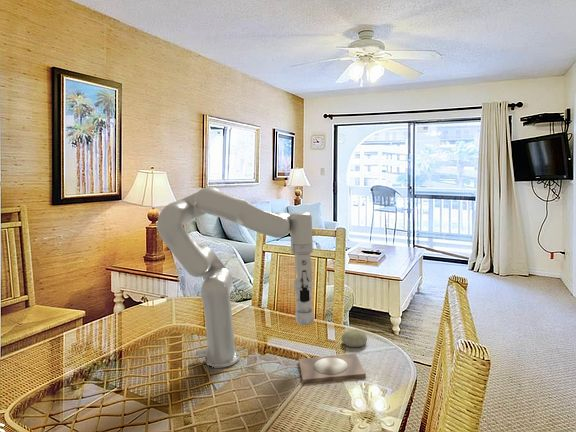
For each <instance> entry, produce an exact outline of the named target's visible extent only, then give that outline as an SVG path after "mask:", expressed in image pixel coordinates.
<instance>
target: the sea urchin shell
mask: <svg viewBox="0 0 576 432" xmlns="http://www.w3.org/2000/svg"><path fill="white" fill-rule="evenodd" d="M341 341H342V343H343V345H345V346H346V347H350V348H360V347H363V346H365V345H366V343H367V341H368V337H367V335H366V333H365V332H364V331H362V330H360V329H353V328H352V329H348V330H346V331H345V332H343V333H342V334H341Z"/></svg>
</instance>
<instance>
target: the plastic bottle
mask: <svg viewBox="0 0 576 432" xmlns="http://www.w3.org/2000/svg"><path fill="white" fill-rule="evenodd" d="M301 281H303V280H301ZM302 284H303V283H302ZM293 287H294V293H295V303H296V304H295V315H294V317H295V322H296V323H297V324H298V325H301V326H309V325H311V324H313V323H314V319H315V315H314V314H315V313H314V311H313V303H312V302H313V301H312V300H313V299H312V296H313V295H312V294H313V293H312V292H313V281H312V282H310V281H309V280H308V287H309V301H307V302H301V301H300V290H301V289H300V282H298V279H297V277H296V278H295V280H294V282H293Z"/></svg>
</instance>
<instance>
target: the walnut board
mask: <svg viewBox="0 0 576 432" xmlns="http://www.w3.org/2000/svg"><path fill="white" fill-rule="evenodd" d="M298 366H299V369H300V375H301V379H302V384H310V383H320V382H330V381H340V380H350V379H361V378H366V377H367V375H366V371H365V369H364V367H363V365H362V363H361V362H360V359H359V357H358V355H357V353H349V354H348V353H347V354H340V355H339V354H338V355H328V356H317V357H316V356H315V357H304V358H299V359H298Z"/></svg>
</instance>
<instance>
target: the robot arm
mask: <svg viewBox="0 0 576 432" xmlns="http://www.w3.org/2000/svg"><path fill="white" fill-rule="evenodd" d="M206 214H208V215H211V216H214V217H217V218H220V219H223V220H226V221H230V222H232V223H235V224H238V225H239V226H240V227H241V226H242V227H244V228H247V229H249V230H251V231H254V232H256V233H259V234H262V235H266V236H269V237H271V238H276V239H279V238H283V237H285V236H287V234H288V233H290V250H291V251H290V252H291V254H293V255H294V265H295V266H294V267H295V274H296V276H295V277H296V278H297V279H298V282H300V289H301V290H300V301H301V302H307V301H309V287H308V280H309V281H310V282H312V283H313V273H312V271H313V270H312V258H311V257H312V256H311V254H312V253H313V252H314V247H313V246H314V244H313V242H314V241H313V221H312V220H313V219H312V217H313V216H312V215H311V213H310V212H304V211H302V212H301V211H299V212H298V211H297V212H282V211H277V212H274V213H272V212H269V211H265V210H263V209H261V208H258V207H257V206H254V205H252V204H251V203H250V202H249V201H247V200H246V199H243V198H240V197H237V196H234V195H231V194H228V193H224V192H222V191H220V190H219V188H216V186H215V187H214V186H207V187H203V188H201V189H199V190H198V191H196V192H194V193H193V194H190V195H188V196H185V197H184V198H181V199H179V200H176V201H173V202H170V203H168V204H167V205H165V206H164V207H163V208H162V210H161V211H160V214H159V215H158V217H157V222H156V228H157V233H158V235H159V237H160V238H161V240H162V242H163V243H164V244H165V245H166V247H167V248H168V249H169V250H170V251H171V253H172V255H173V256H174V257H175V259H176V260H177V261H178V263H180V264H181V266H182V268H183V269H185V271H186V272H187V273H188V275H189V276H191V277H194V278H200V277H201V278H202V279H203V282H202V285H201V290H200V295H201V302H202V305H203V312H204V320H205V321H204V323H205V331H206V343H207V348H205V349H196V350H195V356H197V357H198V358H199V359H200V358H201V359H202V358H204V363H205V362H206V363H207V364H208V365H210V366H212V367H211V368H213V367H214V368H213V369H223V368H227V367H230V366H233V365H235V364H236V363H237V362H239V360H240V358H241V354H240V352H239V351H238V350H236V346H235V335H234V322H233V320H234V319H233V310H232V302H231V295H230V291H231V289H232V285H233V282H234V280H233V276H232V273H231V271H230V270H229V268H228V267H227V266H226V265H225V264H224V262H223V261H222V260H221V259H220V257H219V256H218V255H217V253H216V252H215V251H214V250H213V249H212V248H211V247H209V246H207V245H203V244H202V245H201V244H200V245H198V243H197V242H196V241H195V239H194V238H193V237H192V235H191V234H190V233H189V232H187V230H186V229H185V227H184V225H186V224H187V223H189V222H191V221H193V220H195V219H196V218H197V219H198V218H200V217H201V216H204V215H206ZM301 280H303V281H301ZM302 283H303V284H302Z"/></svg>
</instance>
